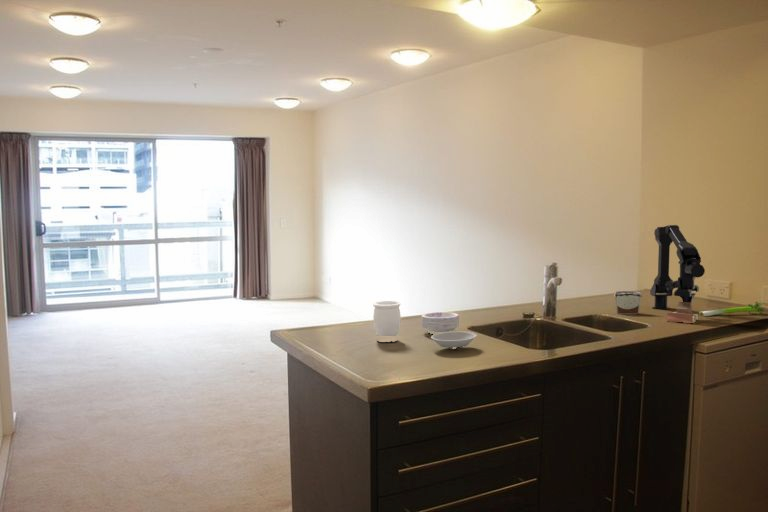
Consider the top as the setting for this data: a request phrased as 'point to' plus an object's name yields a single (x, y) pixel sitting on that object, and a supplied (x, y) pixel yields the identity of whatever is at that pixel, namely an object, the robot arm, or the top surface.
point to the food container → (627, 302)
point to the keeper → (684, 308)
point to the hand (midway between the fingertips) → (686, 309)
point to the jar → (387, 318)
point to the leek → (736, 310)
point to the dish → (453, 339)
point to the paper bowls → (440, 321)
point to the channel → (681, 317)
